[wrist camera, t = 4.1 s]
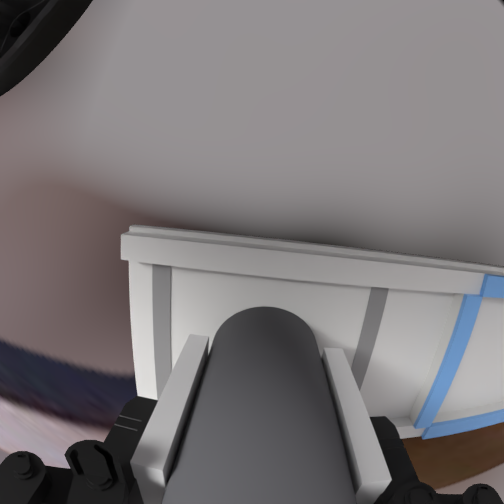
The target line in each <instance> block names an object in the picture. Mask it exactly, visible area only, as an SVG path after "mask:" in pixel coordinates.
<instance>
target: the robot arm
mask: <svg viewBox="0 0 504 504" xmlns="http://www.w3.org/2000/svg"><path fill="white" fill-rule="evenodd" d="M92 1H93V0H0V96H1V95H3V94H5V93H6V92H8V91H9V90H10V89H12V88H13V87H14V86H15V85H17V84H18V83H19V82H21V81H22V80H23V79H24V78H25V77H26V76H27V75H29V73H31V72H32V71H33V70H34V69H35V68H36V67H37V66H38V65H39V64H40V63H41V62H42V61H43V60H44V59H45V58H46V57H47V56H48V55H49V54H50V52H51V51H52V50H53V49H54V48H55V47H56V46H57V45H58V44H59V43H60V41H61V40H62V39H63V38H64V37H65V36H66V34H67V33H68V32H69V31H70V30H71V28H72V27H73V26H74V24H75V23H76V22H77V21H78V20H79V18H80V17H81V16H82V14H83V13H84V12H85V10H86V9H87V8H88V6H89V5H90V3H91V2H92ZM208 349H209V336H202V335H195V334H190V335H189V337H188V339H187V341H186V343H185V345H184V347H183V349H182V351H181V353H180V355H179V358H178V360H177V362H176V364H175V366H174V368H173V370H172V372H171V375H170V377H169V379H168V381H167V383H166V385H165V387H164V389H163V392H162V394H161V396H160V398H159V400H154V399H150V398H145V397H141V396H136V397H135V398H133V399H132V400H130V401H129V402H128V403H126V404H125V406H124V408H123V410H122V411H121V413H120V416H119V417H118V418H117V420H116V422H115V425H113V427H112V429H111V430H110V432H109V434H108V436H107V437H106V439H105V441H104V443H103V442H100V441H97V440H84V441H80V442H76V443H75V444H73V445H72V446H70V447H69V448H68V450H67V451H66V453H65V457H66V460H67V462H68V464H69V466H70V468H71V469H66V468H58V467H51V466H45V465H44V463H43V462H42V460H41V459H40V458H39V457H38V456H37V455H35V454H33V453H30V452H27V451H18V452H15V453H12V454H10V455H9V456H8V457H7V458H5V460H4V461H3V462H2V463H1V464H0V504H161V502H162V498H163V495H164V492H165V489H166V486H167V482H168V479H169V476H170V473H171V470H172V467H173V463H174V460H175V457H176V454H177V451H178V448H179V445H180V441H181V438H182V435H183V432H184V429H185V426H186V423H187V419H188V416H189V413H190V410H191V407H192V404H193V401H194V398H195V395H196V391H197V388H198V385H199V382H200V379H201V376H202V373H203V370H204V367H205V364H206V361H207V358H208ZM321 360H322V364H323V367H324V371H325V375H326V378H327V382H328V386H329V390H330V394H331V397H332V401H333V405H334V409H335V413H336V417H337V421H338V425H339V429H340V433H341V437H342V441H343V445H344V449H345V453H346V457H347V461H348V466H349V470H350V474H351V479H352V483H353V487H354V492H355V496H356V501H357V504H504V503H503V502H502V500H501V498H500V497H499V495H498V493H497V492H496V491H495V489H494V488H492V487H491V486H489V485H487V484H474V485H472V486H471V487H469V488H468V489H467V490H466V491H465V492H464V493H463V494H456V495H455V494H438V493H436V491H435V490H434V489H433V488H432V487H431V486H429V485H427V484H425V483H422V482H420V481H419V479H418V477H417V475H416V472H415V470H414V468H413V465H412V463H411V461H410V458H409V456H408V454H407V451H406V449H405V448H404V444H403V442H402V440H401V439H400V435H399V433H398V431H397V429H396V426H395V425H394V424H393V423H392V422H391V421H390V420H389V419H388V418H387V417H386V416H377V417H369V415H368V412H367V410H366V407H365V404H364V402H363V399H362V397H361V394H360V391H359V389H358V386H357V384H356V381H355V379H354V376H353V374H352V371H351V369H350V366H349V364H348V361H347V359H346V356H345V354H344V351H343V349H342V348H324V349H323V354H322V358H321Z"/></svg>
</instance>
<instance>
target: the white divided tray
mask: <svg viewBox="0 0 504 504" xmlns="http://www.w3.org/2000/svg"><path fill="white" fill-rule="evenodd" d="M121 259H122V260H128V261H129V290H130V291H129V292H130V315H131V330H132V331H131V332H132V345H133V356H134V367H135V376H136V385H137V393H138V396H141V397H145V398H150V399H154V400H159V398H160V396H161V394H162V392H163V389H164V387H165V385H166V383H167V381H168V379H169V377H170V375H171V372H172V370H173V368H174V366H175V364H176V362H177V360H178V358H179V355H180V353H181V351H182V349H183V347H184V345H185V343H186V341H187V339H188V337H189V335H190V334H195V335H202V336H209V349H208V355H209V351H210V348H211V345H212V342H213V339H214V336H215V334H216V332H217V330H218V329H219V327H220V326H221V325H222V324H223V323H224V322H225V321H226V320H227V319H228V318H229V317H231V316H232V315H234V314H236V313H238V312H240V311H242V310H245V309H248V308H253V307H261V306H268V307H276V308H281V309H284V310H287V311H289V312H292V313H293V314H295V315H297V316H298V317H300V318H301V319H302V320H304V322H305V323H306V324H307V325H308V326H309V327H310V329H311V330H312V332H313V334H314V336H315V339H316V342H317V345H318V349H319V353H320V356H321V358H322V354H323V349H324V348H342V349H343V351H344V354H345V356H346V359H347V361H348V364H349V366H350V369H351V371H352V374H353V376H354V379H355V381H356V384H357V386H358V389H359V391H360V394H361V397H362V399H363V402H364V404H365V407H366V410H367V412H368V415H369V417H377V416H386V417H387V418H388V419H389V420H390V421H391V422H392V423H393V424H394V425H395V426H396V429H397V431H398V433H399V435H400V439H403V438H411V437H419V436H421V437H422V439H429V438H435V437H441V436H446V435H451V434H456V433H461V432H466V431H470V430H474V429H478V428H482V427H486V426H490V425H494V424H497V423H501V422H504V266H497V265H489V264H482V263H475V262H467V261H460V260H453V259H445V258H437V257H429V256H422V255H414V254H406V253H398V252H389V251H381V250H373V249H364V248H356V247H347V246H339V245H338V246H337V245H330V244H321V243H312V242H303V241H293V240H284V239H276V238H267V237H266V238H265V237H257V236H247V235H237V234H228V233H218V232H208V231H198V230H187V229H178V228H167V227H166V228H165V227H156V226H145V225H135V224H134V225H131V226H129V231H128V232H126V233H123V234H121Z"/></svg>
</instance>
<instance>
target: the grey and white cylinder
mask: <svg viewBox="0 0 504 504" xmlns="http://www.w3.org/2000/svg"><path fill="white" fill-rule="evenodd" d="M161 504H357V501H356V496H355V492H354V487H353V483H352V479H351V474H350V470H349V466H348V461H347V457H346V453H345V449H344V445H343V441H342V437H341V433H340V429H339V425H338V421H337V417H336V413H335V409H334V405H333V401H332V397H331V394H330V390H329V386H328V382H327V378H326V375H325V371H324V367H323V364H322V360H321V356H320V353H319V349H318V345H317V342H316V339H315V336H314V334H313V332H312V330H311V329H310V327H309V326H308V325H307V324H306V323H305V322H304V320H302V319H301V318H300V317H298V316H297V315H295V314H293V313H292V312H289V311H287V310H284V309H281V308H276V307H268V306H261V307H253V308H248V309H245V310H242V311H240V312H238V313H236V314H234V315H232V316H231V317H229V318H228V319H227V320H226V321H225V322H224V323H223V324H222V325H221V326H220V327H219V329H218V330H217V332H216V334H215V336H214V339H213V342H212V345H211V348H210V351H209V355H208V358H207V361H206V364H205V367H204V370H203V373H202V376H201V379H200V382H199V385H198V388H197V391H196V395H195V398H194V401H193V404H192V407H191V410H190V413H189V416H188V419H187V423H186V426H185V429H184V432H183V435H182V438H181V441H180V445H179V448H178V451H177V454H176V457H175V460H174V463H173V467H172V470H171V473H170V476H169V479H168V482H167V486H166V489H165V492H164V495H163V498H162V502H161Z"/></svg>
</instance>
